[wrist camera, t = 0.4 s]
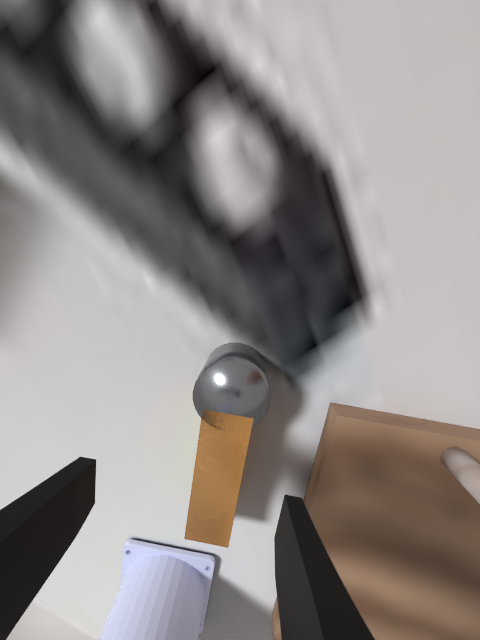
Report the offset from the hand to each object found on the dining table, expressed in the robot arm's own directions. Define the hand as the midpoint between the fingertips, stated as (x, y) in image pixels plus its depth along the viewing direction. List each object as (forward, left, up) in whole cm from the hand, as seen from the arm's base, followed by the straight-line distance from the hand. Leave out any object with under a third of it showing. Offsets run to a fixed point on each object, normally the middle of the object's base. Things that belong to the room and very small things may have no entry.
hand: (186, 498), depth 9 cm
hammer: (-4, -1, -9) cm, 10 cm away
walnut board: (-11, -16, -9) cm, 21 cm away
